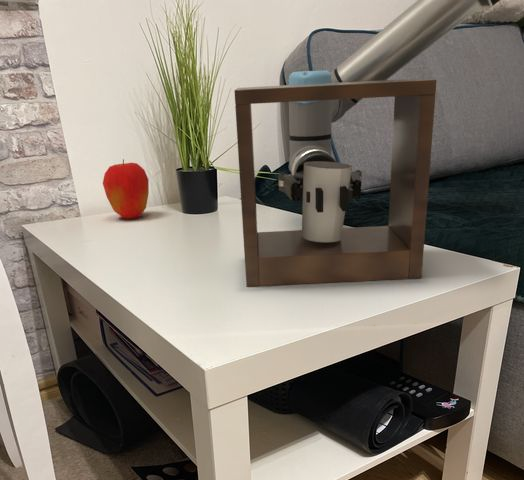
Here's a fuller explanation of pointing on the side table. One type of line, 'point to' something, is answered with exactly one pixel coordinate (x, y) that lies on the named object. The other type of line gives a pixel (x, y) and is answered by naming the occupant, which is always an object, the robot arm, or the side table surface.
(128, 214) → the apple
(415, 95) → the shelf unit
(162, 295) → the side table surface
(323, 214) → the drinking glass
